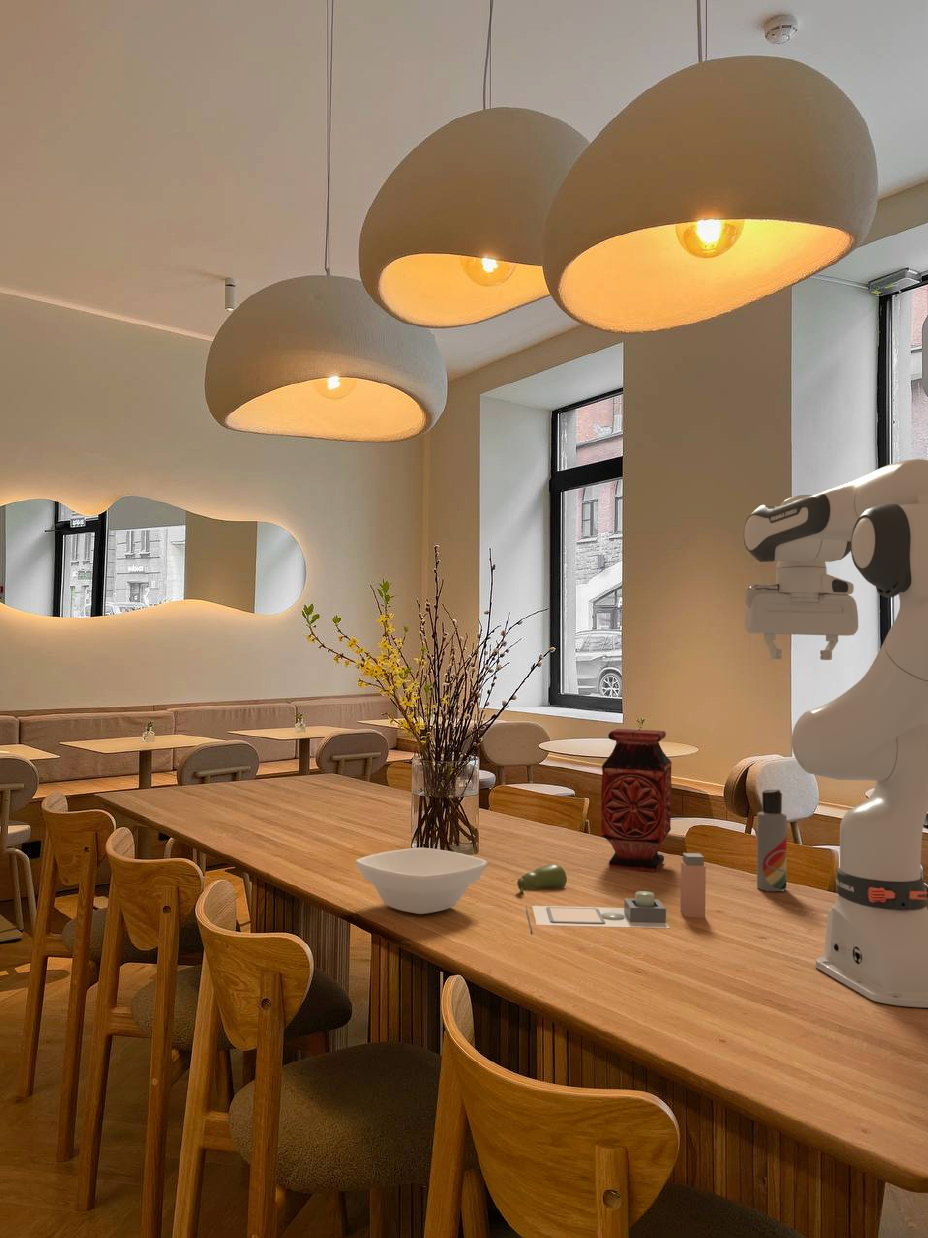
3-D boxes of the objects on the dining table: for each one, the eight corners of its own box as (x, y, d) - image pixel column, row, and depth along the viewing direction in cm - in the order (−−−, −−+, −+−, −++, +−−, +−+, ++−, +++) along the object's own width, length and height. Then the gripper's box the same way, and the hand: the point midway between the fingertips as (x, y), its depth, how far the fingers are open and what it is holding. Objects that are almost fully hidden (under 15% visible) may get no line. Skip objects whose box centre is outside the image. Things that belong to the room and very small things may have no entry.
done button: (655, 910, 156) (656, 896, 156) (637, 909, 156) (637, 895, 156) (652, 905, 159) (652, 891, 159) (633, 904, 159) (633, 890, 159)
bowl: (501, 909, 165) (502, 861, 166) (421, 932, 150) (422, 879, 150) (420, 888, 179) (421, 844, 179) (339, 908, 164) (340, 859, 164)
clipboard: (676, 937, 150) (676, 928, 150) (531, 933, 150) (531, 925, 150) (659, 914, 164) (659, 906, 164) (525, 910, 164) (526, 902, 164)
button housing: (665, 922, 154) (665, 908, 154) (630, 921, 154) (630, 907, 154) (658, 913, 160) (658, 899, 160) (624, 912, 160) (624, 898, 160)
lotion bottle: (788, 893, 181) (788, 792, 182) (758, 891, 183) (759, 790, 184) (784, 886, 187) (784, 788, 188) (755, 884, 188) (755, 787, 189)
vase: (599, 868, 200) (601, 731, 201) (610, 856, 213) (612, 727, 214) (664, 874, 195) (665, 734, 197) (671, 862, 208) (672, 730, 210)
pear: (569, 865, 177) (523, 876, 174) (573, 891, 178) (526, 904, 174) (556, 858, 183) (511, 870, 179) (560, 885, 183) (515, 896, 179)
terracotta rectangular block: (705, 924, 158) (705, 857, 159) (685, 923, 158) (685, 856, 159) (700, 918, 162) (700, 853, 162) (680, 918, 162) (681, 852, 162)
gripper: (751, 581, 166) (751, 658, 165) (862, 584, 166) (862, 660, 166) (739, 584, 172) (739, 658, 171) (846, 587, 173) (846, 660, 172)
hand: (800, 659), depth 169 cm, fingers open, 8 cm apart
